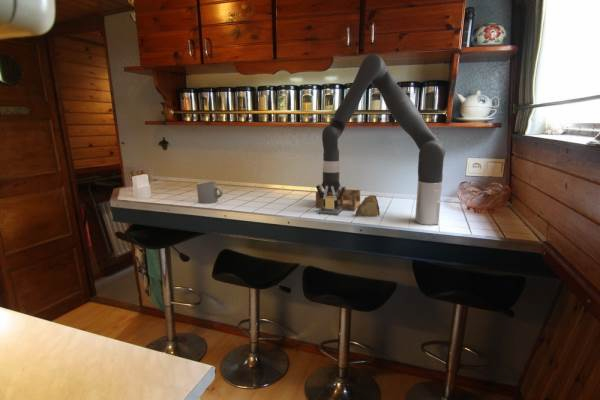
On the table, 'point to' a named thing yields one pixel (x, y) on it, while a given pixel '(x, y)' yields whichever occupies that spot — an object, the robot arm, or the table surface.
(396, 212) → the table surface
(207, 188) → the coffee mug
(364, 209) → the rock
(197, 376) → the table surface
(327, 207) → the block
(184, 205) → the table surface
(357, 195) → the wooden drawer box
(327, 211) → the dish
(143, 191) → the base with upright slab
